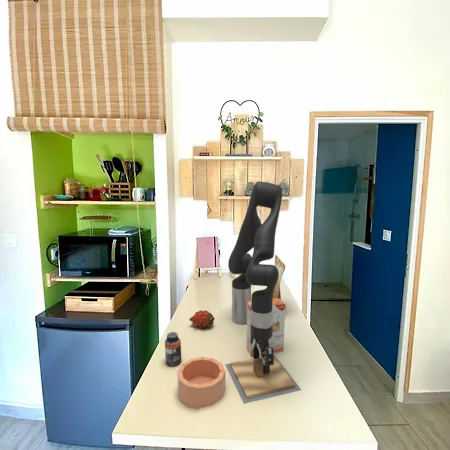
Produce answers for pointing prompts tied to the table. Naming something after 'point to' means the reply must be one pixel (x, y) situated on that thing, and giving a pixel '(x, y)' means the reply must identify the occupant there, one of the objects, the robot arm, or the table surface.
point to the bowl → (201, 382)
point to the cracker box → (278, 327)
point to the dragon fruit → (202, 319)
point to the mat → (262, 395)
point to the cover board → (260, 377)
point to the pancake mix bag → (281, 268)
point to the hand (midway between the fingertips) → (261, 365)
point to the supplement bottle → (173, 349)
